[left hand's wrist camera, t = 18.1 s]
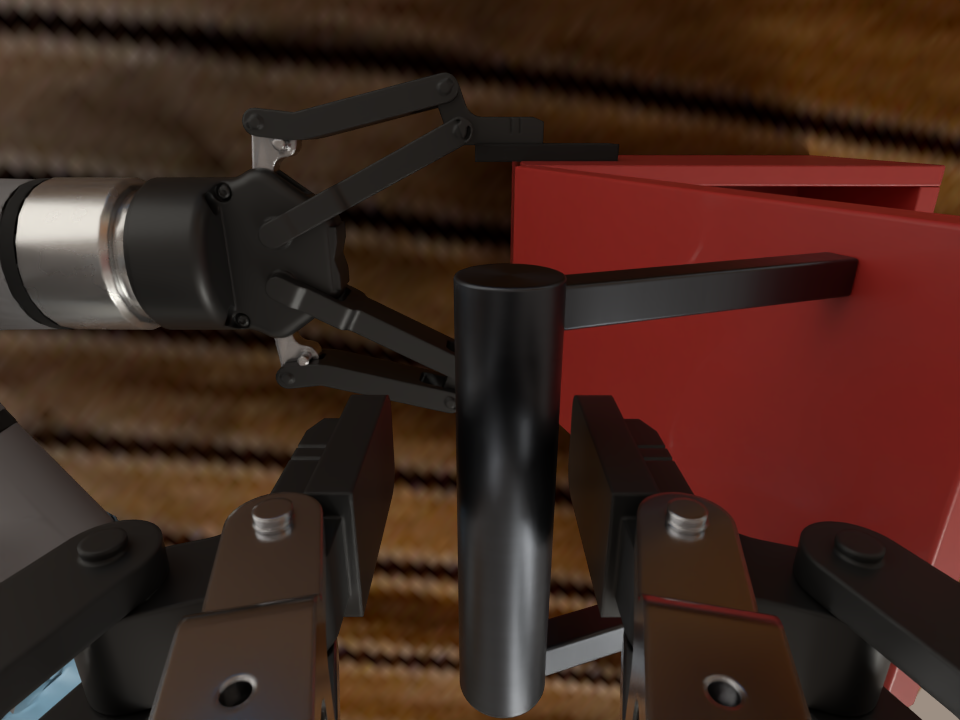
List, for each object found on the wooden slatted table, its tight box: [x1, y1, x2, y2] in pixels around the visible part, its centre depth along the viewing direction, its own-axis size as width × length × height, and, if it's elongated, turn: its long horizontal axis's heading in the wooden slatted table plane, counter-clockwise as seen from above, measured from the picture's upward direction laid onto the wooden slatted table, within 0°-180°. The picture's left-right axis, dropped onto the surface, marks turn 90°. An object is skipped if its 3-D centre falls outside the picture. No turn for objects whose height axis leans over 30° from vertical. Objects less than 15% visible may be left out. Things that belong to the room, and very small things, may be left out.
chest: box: [510, 155, 945, 263], centre depth 31 cm, size 17×9×11 cm, turn 90°
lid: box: [454, 166, 960, 718], centre depth 16 cm, size 18×9×8 cm
